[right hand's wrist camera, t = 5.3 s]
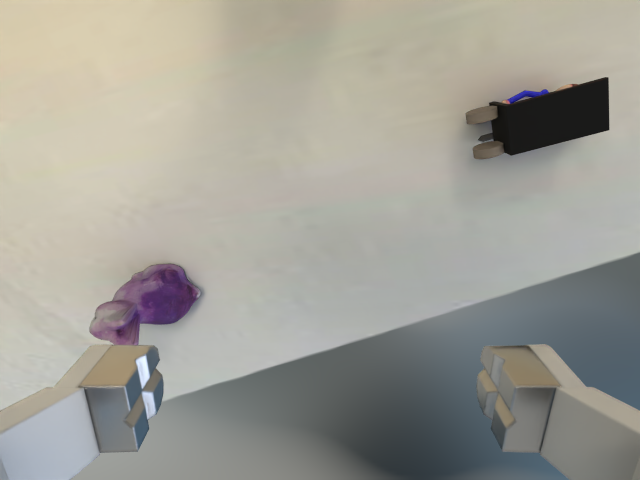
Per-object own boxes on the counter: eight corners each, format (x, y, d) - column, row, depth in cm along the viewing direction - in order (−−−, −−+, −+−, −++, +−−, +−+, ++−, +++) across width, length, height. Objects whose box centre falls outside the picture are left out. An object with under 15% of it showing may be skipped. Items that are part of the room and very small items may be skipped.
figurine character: (466, 156, 57) (583, 124, 54) (479, 168, 50) (615, 132, 47) (457, 107, 55) (579, 71, 52) (470, 113, 48) (611, 71, 45)
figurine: (116, 288, 63) (57, 347, 49) (158, 245, 61) (110, 294, 47) (164, 327, 65) (122, 394, 51) (207, 287, 63) (175, 346, 49)
